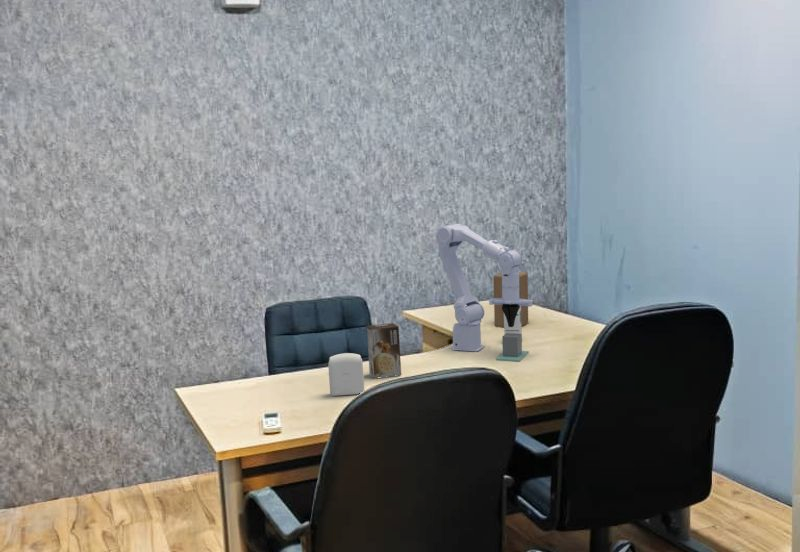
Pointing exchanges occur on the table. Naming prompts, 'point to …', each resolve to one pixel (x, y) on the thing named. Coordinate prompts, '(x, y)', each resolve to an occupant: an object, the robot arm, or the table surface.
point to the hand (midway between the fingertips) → (511, 326)
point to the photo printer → (346, 374)
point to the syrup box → (517, 324)
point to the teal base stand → (518, 359)
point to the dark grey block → (512, 344)
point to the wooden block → (522, 295)
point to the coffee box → (384, 350)
